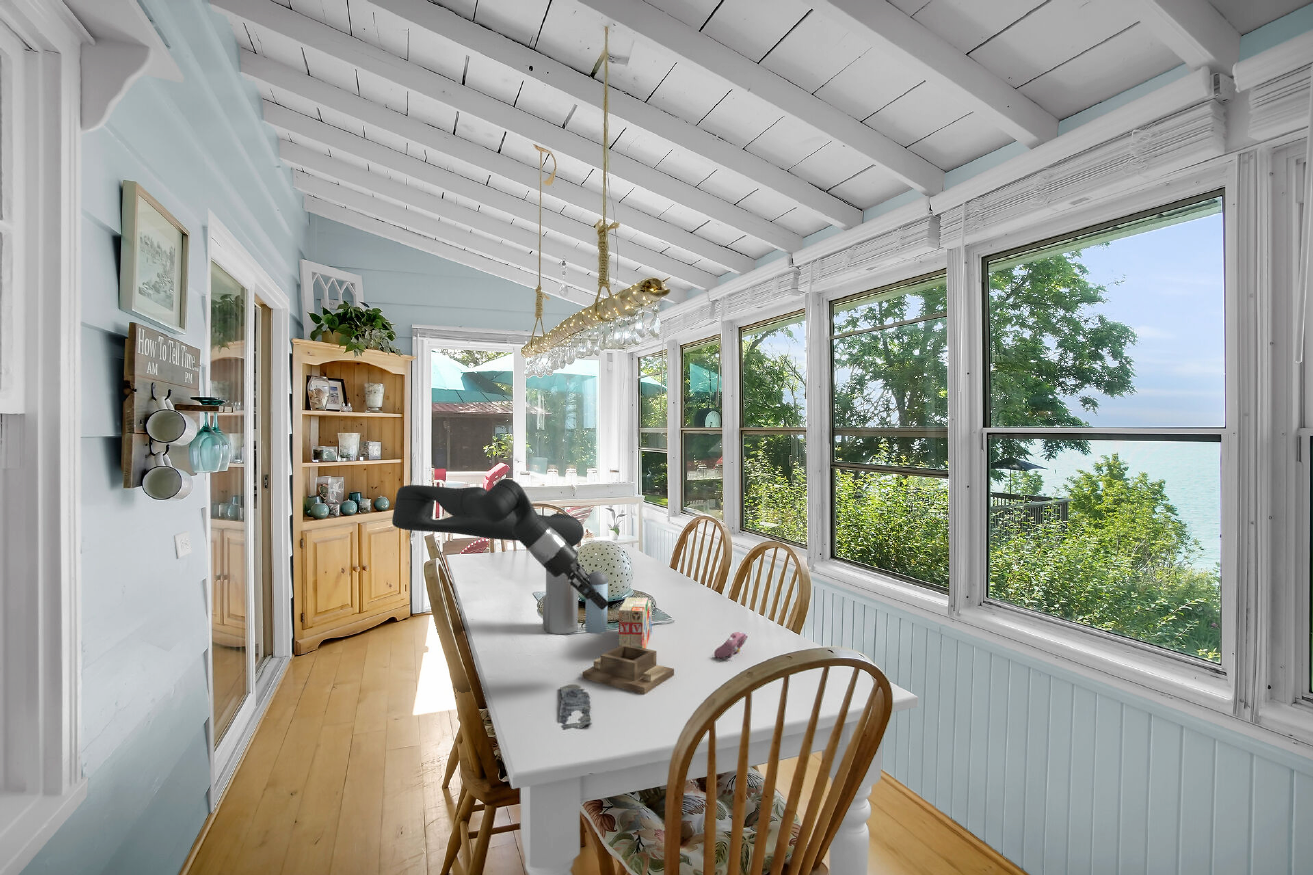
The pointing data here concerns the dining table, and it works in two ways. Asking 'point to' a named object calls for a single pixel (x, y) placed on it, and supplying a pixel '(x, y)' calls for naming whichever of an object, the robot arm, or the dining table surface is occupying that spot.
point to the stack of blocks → (635, 622)
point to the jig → (629, 669)
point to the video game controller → (731, 645)
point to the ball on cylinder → (594, 614)
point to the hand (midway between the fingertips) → (604, 603)
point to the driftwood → (574, 706)
